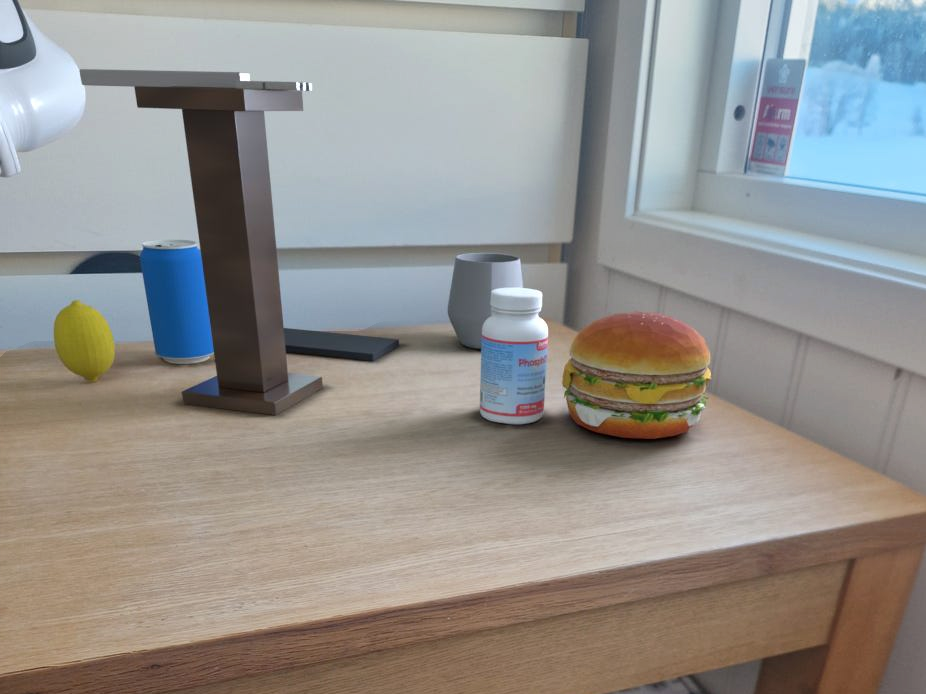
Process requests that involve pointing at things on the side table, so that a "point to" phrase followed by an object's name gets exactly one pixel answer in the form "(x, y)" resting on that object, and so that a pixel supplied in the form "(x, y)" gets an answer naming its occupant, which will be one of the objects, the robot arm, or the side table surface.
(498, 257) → the cup
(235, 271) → the stand
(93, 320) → the lemon
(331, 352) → the dark grey flat slab
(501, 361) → the pill bottle
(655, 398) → the burger
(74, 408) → the side table surface
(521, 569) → the side table surface
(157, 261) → the beverage can
